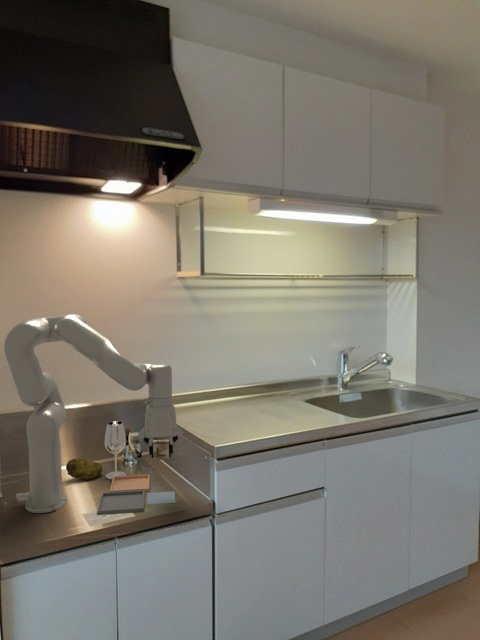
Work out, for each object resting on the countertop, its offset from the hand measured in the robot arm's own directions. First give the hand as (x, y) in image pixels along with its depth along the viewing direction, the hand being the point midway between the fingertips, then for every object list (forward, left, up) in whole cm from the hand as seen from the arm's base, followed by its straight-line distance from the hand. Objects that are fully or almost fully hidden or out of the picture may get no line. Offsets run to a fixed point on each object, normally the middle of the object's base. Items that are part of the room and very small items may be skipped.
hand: (161, 455), depth 164 cm
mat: (0, 0, -15) cm, 15 cm away
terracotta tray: (-11, +13, -15) cm, 22 cm away
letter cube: (0, 0, -1) cm, 1 cm away
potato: (-28, +23, -15) cm, 39 cm away
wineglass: (-17, +24, -15) cm, 32 cm away
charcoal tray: (-13, -2, -15) cm, 20 cm away
